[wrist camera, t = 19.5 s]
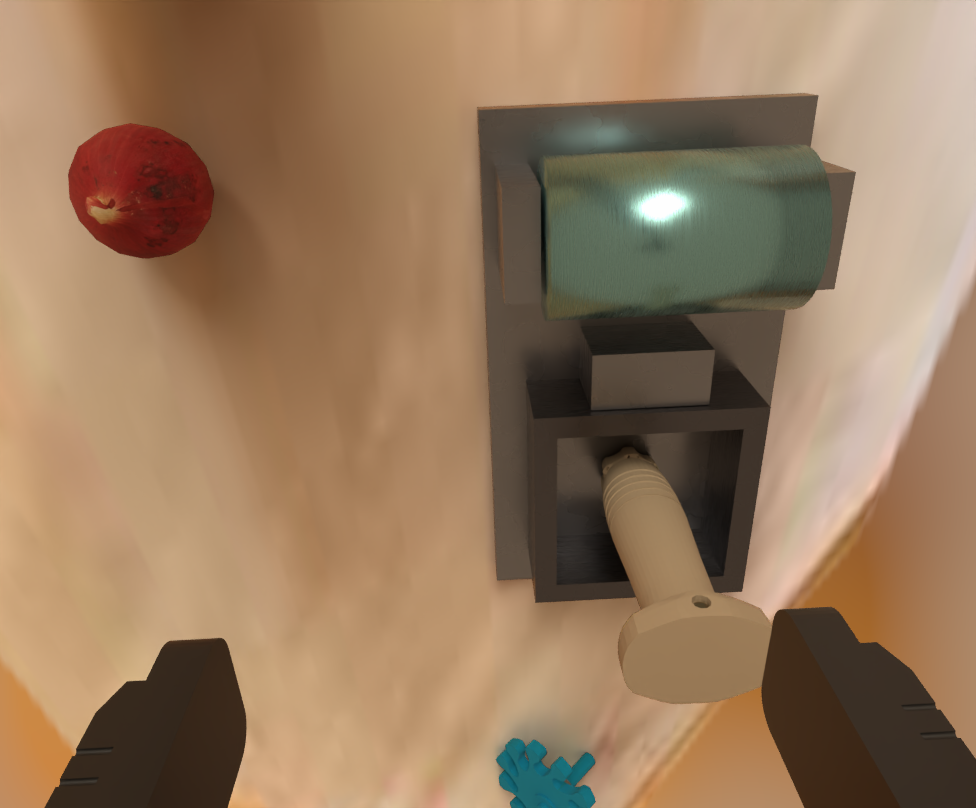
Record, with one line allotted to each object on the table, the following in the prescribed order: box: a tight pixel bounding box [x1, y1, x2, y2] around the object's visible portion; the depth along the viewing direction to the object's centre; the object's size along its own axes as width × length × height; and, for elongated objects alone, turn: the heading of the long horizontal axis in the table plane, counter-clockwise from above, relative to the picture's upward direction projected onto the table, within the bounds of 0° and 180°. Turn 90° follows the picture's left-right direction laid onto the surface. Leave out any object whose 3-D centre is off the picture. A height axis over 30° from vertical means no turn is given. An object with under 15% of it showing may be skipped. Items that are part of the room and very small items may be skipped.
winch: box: [477, 93, 856, 603], centre depth 37 cm, size 16×28×10 cm, turn 2°
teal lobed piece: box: [496, 738, 596, 808], centre depth 55 cm, size 11×6×10 cm
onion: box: [68, 123, 214, 258], centre depth 33 cm, size 6×6×8 cm
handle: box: [601, 447, 772, 704], centre depth 36 cm, size 5×6×15 cm
